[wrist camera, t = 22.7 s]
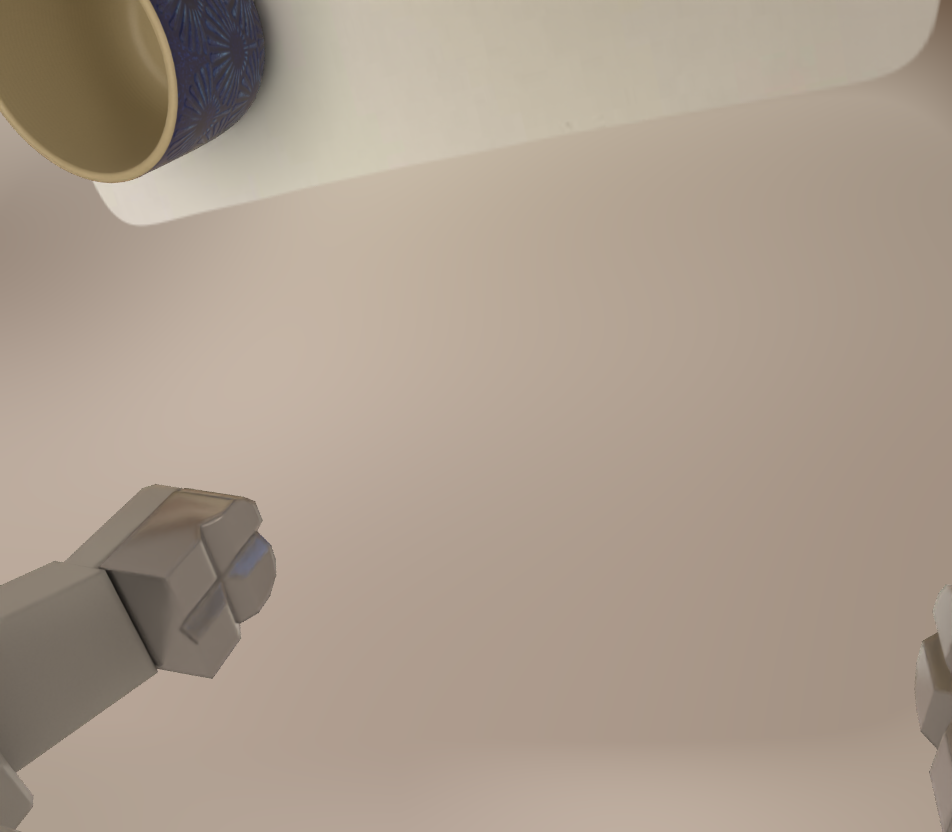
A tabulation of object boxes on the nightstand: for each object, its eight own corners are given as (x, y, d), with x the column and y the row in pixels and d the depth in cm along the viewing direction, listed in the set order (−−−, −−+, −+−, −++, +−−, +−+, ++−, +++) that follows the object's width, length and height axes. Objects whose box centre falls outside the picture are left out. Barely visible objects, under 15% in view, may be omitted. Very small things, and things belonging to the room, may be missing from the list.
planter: (126, 116, 50) (-5, 159, 41) (89, -106, 42) (-79, -111, 34) (291, 152, 48) (190, 205, 39) (282, -76, 40) (156, -73, 32)
